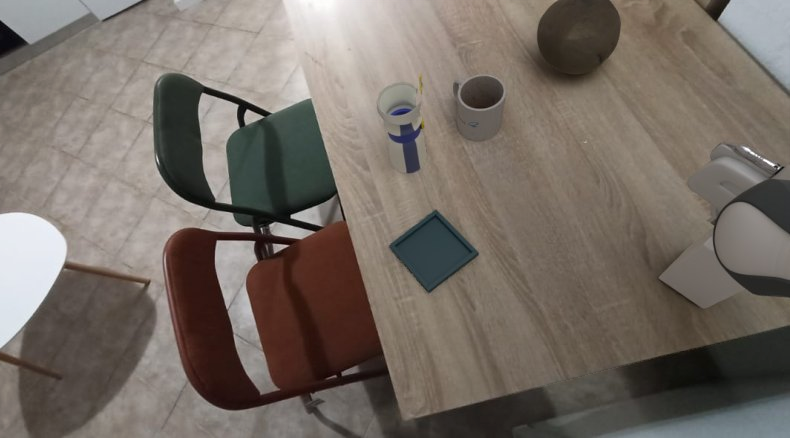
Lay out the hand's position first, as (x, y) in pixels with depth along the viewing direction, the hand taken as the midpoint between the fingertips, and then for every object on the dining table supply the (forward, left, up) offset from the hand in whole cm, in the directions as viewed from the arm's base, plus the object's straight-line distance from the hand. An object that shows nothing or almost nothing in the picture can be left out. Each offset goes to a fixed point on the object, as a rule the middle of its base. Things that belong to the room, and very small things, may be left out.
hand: (749, 244), depth 56 cm
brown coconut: (+44, -20, -16) cm, 51 cm away
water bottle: (+49, +18, -16) cm, 54 cm away
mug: (+47, +2, -16) cm, 49 cm away
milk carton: (0, 0, -15) cm, 15 cm away
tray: (+29, +28, -15) cm, 43 cm away
